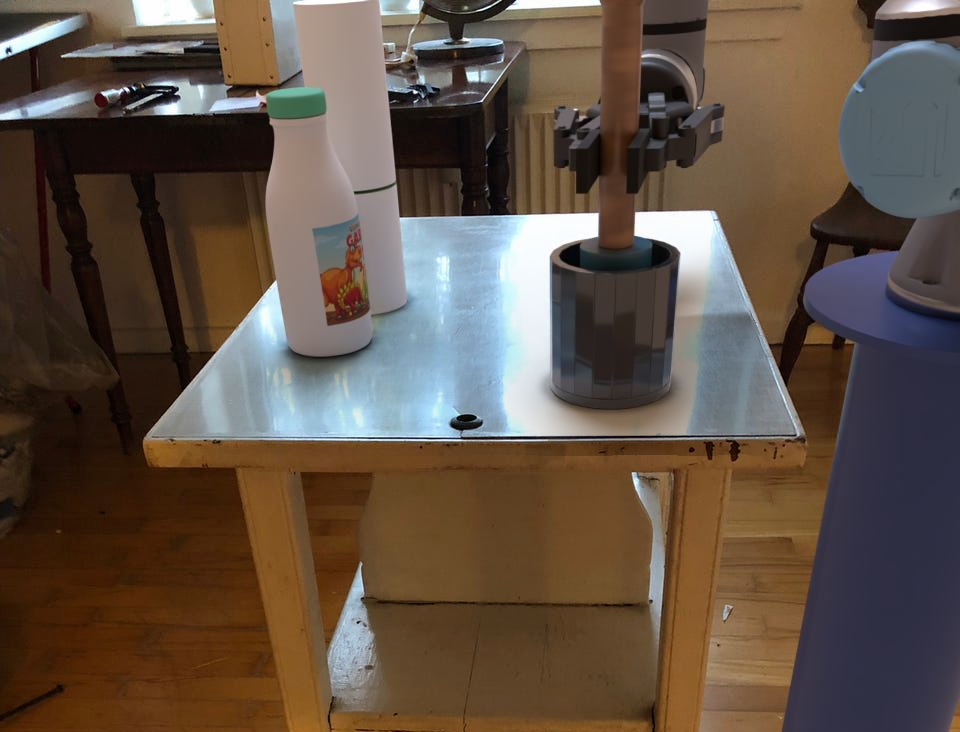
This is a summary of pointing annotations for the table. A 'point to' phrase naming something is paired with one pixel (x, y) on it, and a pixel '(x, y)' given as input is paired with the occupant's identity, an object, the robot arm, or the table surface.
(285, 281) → the milk bottle
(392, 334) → the table surface
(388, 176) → the cylindrical container
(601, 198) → the long cylindrical rod
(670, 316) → the slatted pencil holder
